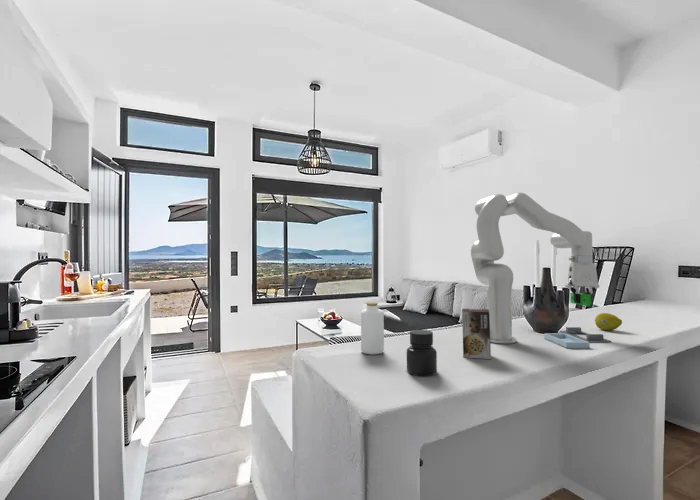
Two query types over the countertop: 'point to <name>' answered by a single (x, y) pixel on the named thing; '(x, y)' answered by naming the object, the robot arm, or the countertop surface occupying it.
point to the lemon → (607, 321)
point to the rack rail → (589, 337)
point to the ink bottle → (421, 354)
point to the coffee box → (476, 333)
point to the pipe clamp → (582, 299)
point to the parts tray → (566, 340)
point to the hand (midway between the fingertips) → (582, 302)
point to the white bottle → (372, 329)
